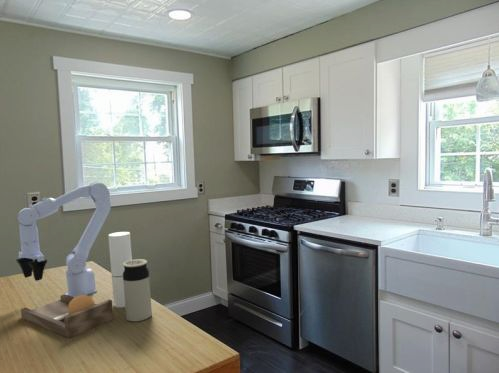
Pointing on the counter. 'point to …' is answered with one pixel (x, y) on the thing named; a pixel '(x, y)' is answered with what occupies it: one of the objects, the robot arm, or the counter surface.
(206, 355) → the counter surface
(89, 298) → the ball
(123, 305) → the cylindrical container
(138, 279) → the travel mug
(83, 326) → the tray
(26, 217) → the robot arm
